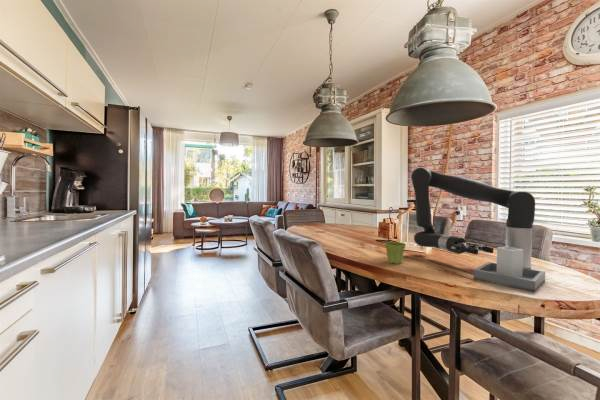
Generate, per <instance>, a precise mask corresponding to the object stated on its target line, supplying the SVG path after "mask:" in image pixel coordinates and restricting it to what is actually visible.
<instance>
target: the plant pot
mask: <svg viewBox="0 0 600 400" xmlns="http://www.w3.org/2000/svg"><path fill="white" fill-rule="evenodd" d="M383 244H384V246H385V249H386V257H387V263H389V264H395V265H399V264H402V263H403V258H404V251H405V249H406V247H407V244H406V243H404V242H400V241H399V242H398V241H387V242H384V243H383Z"/></svg>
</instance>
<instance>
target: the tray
mask: <svg viewBox="0 0 600 400" xmlns="http://www.w3.org/2000/svg"><path fill="white" fill-rule="evenodd" d="M496 271H497V262H491V261H488V262H486V263H484V264H482V265H480V266H478V267H476V268H474V269H473V280H478V281H480V282H481V281H482V282H486V283H492V284H497V285H501V286H505V287H510V288H514V289H519V290H525V291H527V292H532V293H535V292H536V291H537V290H538V289H539V288H540V287H541V286H542V285H543V284H544V283H545V282H546V271H545V270H544V271H543V270H538V269H532V268H523V273H522V278H519V277H514V276H508V275H503V274H498V273H496Z"/></svg>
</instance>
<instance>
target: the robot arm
mask: <svg viewBox="0 0 600 400" xmlns="http://www.w3.org/2000/svg"><path fill="white" fill-rule="evenodd" d="M410 179H411V182H412V185H413V190H414V198H415V217H416V226H417V227H420V228H422V229H423V231H417V233H415V234H414V236H413V241H414V243H415V244H417V246H420V247H426V248H435V249H439V250H442V251H445V252H448V253H452V254H456V255H461V254H464V253H465V254H472V255H479V252H484V253H488V254H489V253H490V254H493V253H494V248H493V247H490V246H488V245H487V244H483V243H477V242H470V241H466V240H465V238H463V237H461V236H457V235H456V236H455V235H450V234H443V233H436V231H435V229H434V228H435V227H434V225H433V223H432V211H431V210H432V209H431V203H430V202H431V201H430V196H429V191H430V190H429V189H430V187H431V188H437V189H439V190H442V191H445V192H447V193H449V194H452V195H455V196H458V197H460V198H463V199H468V200H473V201H479V202H487V203H491V204H495V205H498V206H501V207H503V208H506V209H507V219H506V224H505V225H506V226H505V246H504V247H512V248H517V249H523V268H527V269H531V267H532V245H533V225H534V221H535V214H536V213H535V212H536V200H535V197H534V196H533V195H532V194H531V193H530V192H529V191H525V190H511V189H505V188H499V187H497V186H493V185H490V184H489V183H486V182H482V181H480V180H476V179H473V178H469V177H464V176H459V175H451V174H450V175H449V174H444V173H440V172H438V171H433V170H431V169H428V168H426V167H418V168H415V169H414V170H413V171H412V173H411V175H410Z"/></svg>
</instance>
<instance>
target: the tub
mask: <svg viewBox="0 0 600 400" xmlns="http://www.w3.org/2000/svg"><path fill="white" fill-rule="evenodd" d="M496 249H497V250H496V263H497V271H496V273H498V274H503V275H508V276H514V277H519V278H522V273H523V249H517V248H512V247H505V246H501V247H499V246H498V247H496Z"/></svg>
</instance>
